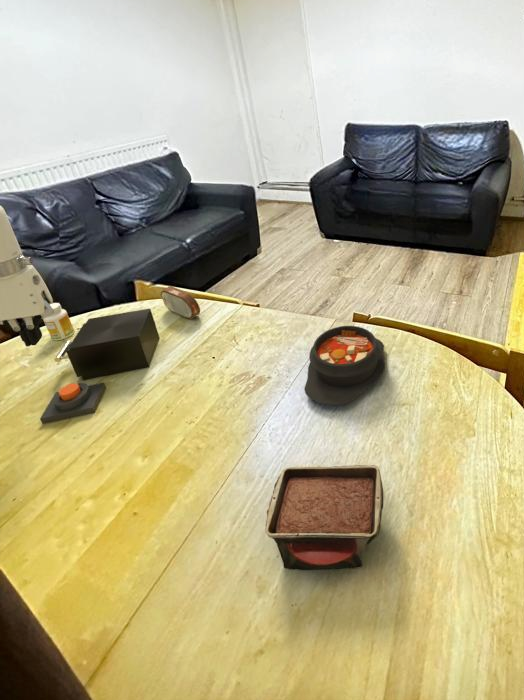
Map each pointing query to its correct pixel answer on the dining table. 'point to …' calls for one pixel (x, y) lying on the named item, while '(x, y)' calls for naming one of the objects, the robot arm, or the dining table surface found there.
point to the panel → (74, 404)
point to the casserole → (343, 365)
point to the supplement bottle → (58, 323)
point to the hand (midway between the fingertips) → (34, 341)
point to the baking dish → (325, 515)
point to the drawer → (68, 354)
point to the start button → (69, 392)
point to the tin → (180, 302)
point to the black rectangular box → (115, 344)
